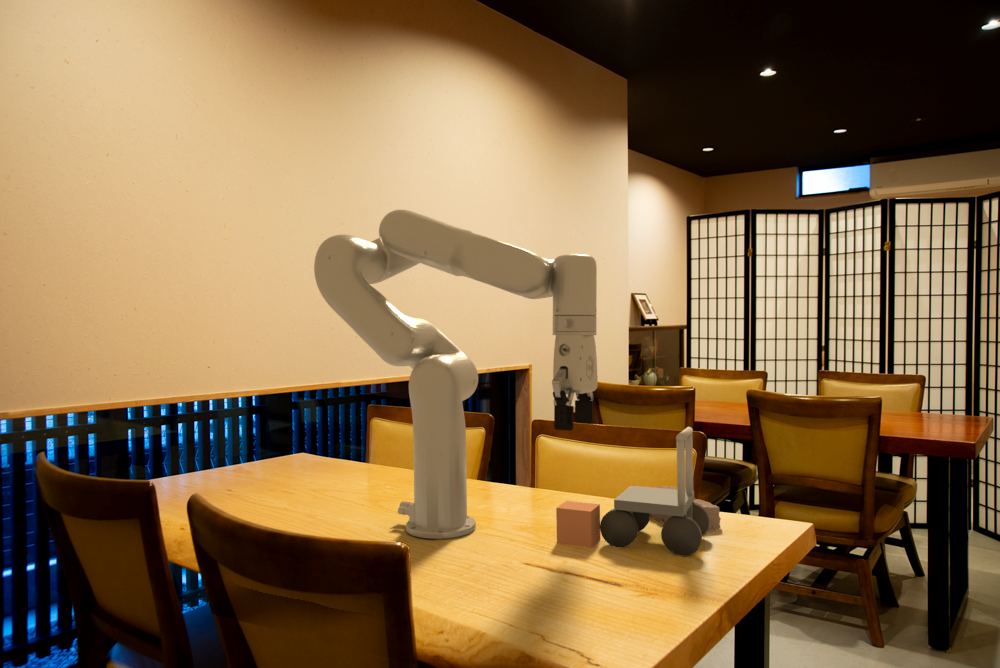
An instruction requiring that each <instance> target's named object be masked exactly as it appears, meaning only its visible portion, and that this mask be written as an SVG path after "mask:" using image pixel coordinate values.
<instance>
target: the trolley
mask: <svg viewBox="0 0 1000 668" xmlns="http://www.w3.org/2000/svg"><path fill="white" fill-rule="evenodd" d="M693 431H694V430H693V428H692V427H691V426H687V427H686V428H684V429H683V430H682V431H680V432H679V433H678V434H677V435H676V436H675V440H676V480H677V481H676V483H677V486H676V488H677V490H676V489H664V488H656V487H654V488H653V487H651V486H640V485H629V486H628V487H627V488H626V489H625V490H624V491H622V492H621V493H620V494H618V495H617V497H616V498H614V499H613V509H611V510H609V511H608V512H606V513H605V514H604V515H603V516H602V518H601V519H600V535H601V536H602V538H603V539H604V541H605V542H606V543H607V544H609V546H611V547H614V548H618V549H619V548H620V549H623V548H627V547H629V546H630V545H631V544H632V543H633V542H634V541H635V539H637V537H638V534H639V532H641V531H642V530H644V529H645V528H646V527H647V526H648V524H649V523H650V519H651V516H650V513H652V514H661V515H671V516H672V517H670V518H669V519H668V520H667V521H666V523H665V524H664V523H663V526H662V527H661V533H660V534H661V535H660V536H661V540H662V543H663V545H664V546H665V548H666V549H667V551H669V552H670V553H672V554H674V555H676V556H680V557H688V556H691V555H693V554H694V553H696V551H697V550H698V549H699V547H700V546H701V543H702V539H703V537H704V535H706V533H707V530H708V527H709V524H710V519H709V515H708V513H707V511H706V510H705V509H704V507H702V506H701V505H700V504H698V503H695V502H694V498H695V491H694V458H693V457H694V453H693V452H694V451H693V450H694V449H693V433H694V432H693ZM708 531H709V530H708Z"/></svg>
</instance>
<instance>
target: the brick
mask: <svg viewBox="0 0 1000 668" xmlns="http://www.w3.org/2000/svg"><path fill="white" fill-rule="evenodd" d="M653 488H664V489H676V490H677V486H671V485H661V486H657V487H656V486H655V487H653ZM694 502H695V503H698V504H700V505H701V506H702V507H704V509H705V510H706V511H707V513H708V515H709V519H710V524H709V527H708V530H707V531H716V529H718V530H720V529H721V517H720V513H721V512H720V506H717V505H716V504H715V505H714V504H713V503H711V502H709V501H705V500H704V499H703V500H702V499H699V498H698V499H697V498H695V497H694ZM670 517H672V516H671V515H661V514H652V513H650V518H652V519H654V520H656V521H658V522H661V523H663V525H664V524H665V523H666V521H667V520H668V519H669V518H670Z"/></svg>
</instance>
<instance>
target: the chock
mask: <svg viewBox="0 0 1000 668" xmlns="http://www.w3.org/2000/svg"><path fill="white" fill-rule="evenodd" d="M555 512H556V544H558V543H560V545H566V546H567V545H568V546H575V547H580V548H587V549H588V548H589V549H592V548H593V547H594V546H595V545H596V544H598V542H599V541H600V540H601V531H600V523H601V505H600V504H599V503H593V502H591V503H590V502H581V501H574V500H573V501H570V500H565V501H564V502H562V503H561V504H560V505H558V506H557V507H556V510H555Z"/></svg>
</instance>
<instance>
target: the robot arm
mask: <svg viewBox="0 0 1000 668" xmlns="http://www.w3.org/2000/svg"><path fill="white" fill-rule="evenodd" d="M378 235H379V237H378V238H375V239H374V240H372V241H370V240H367V239H364V238H362V237H361V238H360V237H357V236H355V235H350V234H336V235H332V236H329V237H328V238H326V239H325V240H324V241H322V243H320V245H319V246H318V249H317V251H316V254H315V257H314V265H313V266H314V267H313V270H314V279H315V282H316V286H317V289H318V290H319V291H318V292H319V294H321V297H322V298H323V299H324V302H326V303H327V305H328V306H329V307H330V308H331V309H332V310H333V311H334V312H335V313H336V314H337V315H338V316H339V317H340V318H341V319H342V320H343V321H344V322H345V323H346V324H347V325H348V326H349V327H350V328H351V329H352V331H354V332H355V334H357V336H359V338H361V340H362V341H364V343H366V344H367V345H368V346H369V347H370V348H371V349H372V350H373V351H374V352H375V353H376V354H377V356H379V358H381V360H382V361H383V362H385V363H387V364H388V365H391V366H394V367H410V368H411V369H412V370H411V372H410V375H409V380H408V395H409V402H410V408H411V415H412V417H411V418H412V434H413V435H412V438H413V440H412V443H413V497H414V498H413V502H411V501H405V500H404V501H403V500H402V501H401V502H400V503H399V507H398V508H397V513H398V515H408V519H409V520H408V521H407V522H406V524H405V531H406V533H408V534H409V535H410V536H413V537H416V538H421V539H433V540H434V539H435V540H436V539H437V540H439V539H440V540H442V539H453V538H459V537H462V536H466V535H468V534H470V533H472V532H473V531H475V529H476V520H475V519H474V518H473V517H471V516H469V515H468V497H467V496H468V495H467V494H468V493H467V492H468V491H467V489H468V488H467V478H468V477H467V441H466V440H467V434H466V433H467V431H466V429H467V428H466V418H465V412H464V404H463V402H464V401H465V400H467V399H469V398H470V397H472V396H473V394H474V393H475V392H476V389H477V387H478V384H479V373H478V370H477V368H476V366H475V364H474V363H473V361H472V360H471V359H470V357H468V356H467V355H466V353H465V352H464V351H463V350H461V349H460V348H459V347H458V346H457V345H456V344H455V343H453V341H451V339H450V338H448V337H447V336H446V335H445V334H444V333H443V332H442V331H441V330H440V329H439V328H437V326H435V325H434V324H433V323H431V322H430V321H428V320H426V319H424V318H421V317H417V316H410V315H407V314H404V313H403V312H402V311H400V310H399V309H398V308H397V307H396V306H395V305H394V304H393V303H391V301H390V300H389V299H387V298H386V297H385V296H384V295H383V294H382V293H381V292H380V291H378V290H377V289H376V288H375V287H373V286H372V285H375V284H378V283H382V282H383V281H386V280H388V279H390V278H392V277H394V276H395V277H396V275H398V274H401V273H403V272H405V271H407V270H409V269H412V268H413V267H415V266H417V265H419V264H422V265H425V266H427V267H430V268H434V269H436V270H439V271H441V272H443V273H444V272H445V273H447V274H450V275H453V276H455V277H465V278H468V279H472V280H474V281H478V282H480V283H483V284H485V285H489V286H492V287H495V288H497V289H500V290H503V291H506V292H509V293H511V294H513V295H517V296H519V297H520V296H521V297H523V298H527V299H528V300H538V299H545V298H552V336H555V339H554V349H553V364H552V365H553V366H552V367H553V368H552V374H553V375H552V381H551V386H552V390H553V391H552V397H553V407H554V409H553V411H554V413H553V414H554V417H553V419H554V422H553V426H554V427H553V428H554V429H555V430H556V431H573V430H574V427H575V426H574V422H575V423H576V424H593V422H594V393H593V392H595V391H596V390H597V389H598V382H599V381H598V360H597V346H596V339H595V336H597V284H598V283H597V278H598V277H597V274H598V273H597V261H596V259H595V258H594V257H593V256H592V255H589V254H579V253H573V254H572V253H571V254H570V253H569V254H563V255H562V254H561V255H559V256H557V257H555V259H552V258H550V259H549V258H544V257H541V256H540V255H538V254H537V253H534V252H532V251H530V250H527V249H525V248H521V247H518V246H515V245H512V244H510V243H506V242H503V241H500V240H498V239H494V238H491V237H487V236H485V235H481V234H478V233H476V232H474V231H472V230H469V229H466V228H463V227H460V226H457V225H455V224H451V223H448V222H444V221H442V220H439V219H436V218H433V217H429V216H427V215H423V214H421V213H417V212H414V211H411V210H407V209H395V210H392V211H389V213H387V214H386V215H384V216H383V218H382V219H381V220H380V224H379V227H378ZM574 395H575V396H576V399H575V400H574V405H572V403H573V399H574Z"/></svg>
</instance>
